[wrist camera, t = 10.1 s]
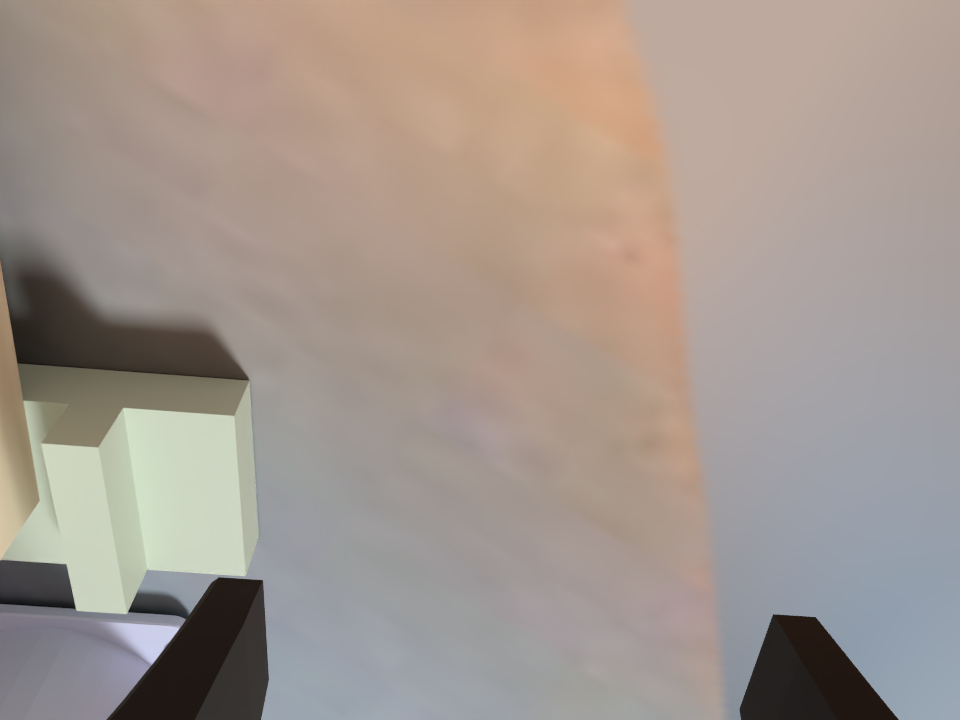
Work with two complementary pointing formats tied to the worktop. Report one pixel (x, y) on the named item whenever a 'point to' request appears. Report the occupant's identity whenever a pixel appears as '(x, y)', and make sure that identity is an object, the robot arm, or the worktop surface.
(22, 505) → the bar
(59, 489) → the stand
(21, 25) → the worktop surface
